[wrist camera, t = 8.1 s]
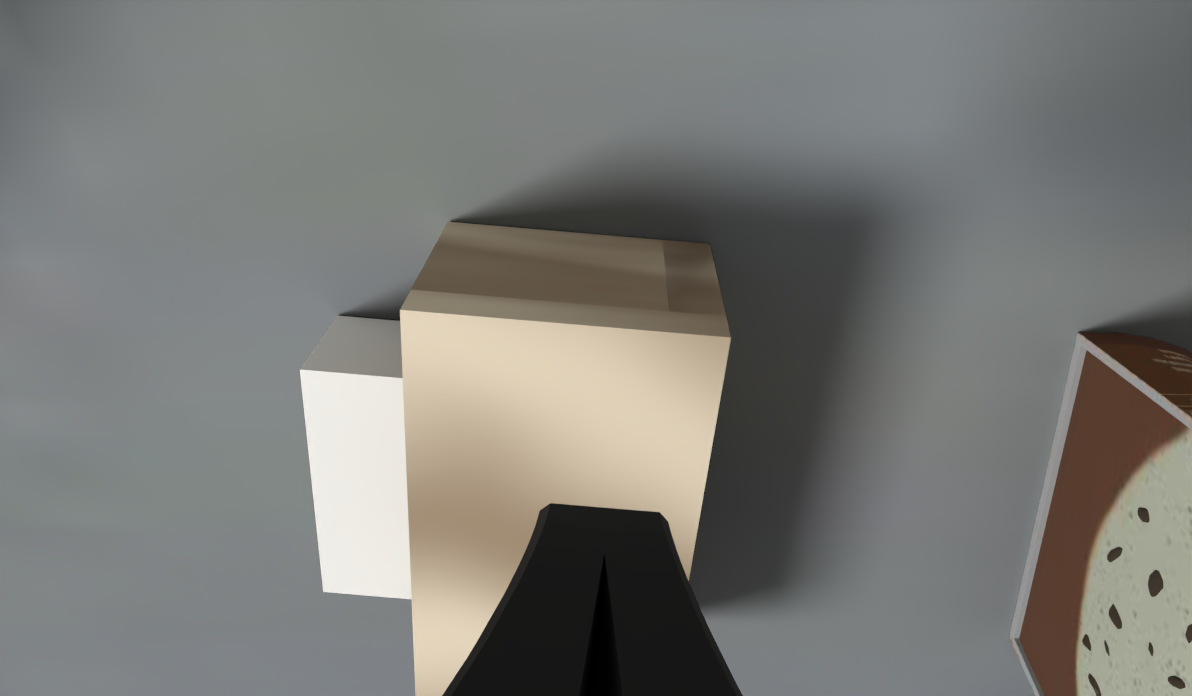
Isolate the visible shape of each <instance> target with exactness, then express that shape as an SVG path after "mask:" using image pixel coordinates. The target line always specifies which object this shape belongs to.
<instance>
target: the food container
mask: <svg viewBox="0 0 1192 696" xmlns="http://www.w3.org/2000/svg"><path fill="white" fill-rule="evenodd" d="M1009 638H1010V640H1011V642H1012V644H1013V647H1014V649H1015V651H1016V653H1017V656H1018V658H1019V660H1020V662H1021V664H1022V667H1023V669H1024V671H1025V673H1026V676H1027V678H1028V680H1029V682H1030V685H1031V687H1032V689H1033V691H1034V694H1035V696H1192V353H1191V352H1189V351H1187V350H1185V349H1183V348H1181V347H1178V346H1175V345H1172V344H1169V343H1166V342H1162V341H1159V340H1156V339H1153V338H1149V337H1143V336H1136V335H1130V334H1123V333H1112V332H1078V334H1077V338H1076V343H1075V347H1074V352H1073V356H1072V361H1071V365H1070V369H1069V374H1068V378H1067V383H1066V387H1065V392H1064V396H1063V401H1062V405H1061V409H1060V414H1059V418H1058V423H1057V427H1056V432H1055V436H1054V441H1053V445H1052V449H1051V454H1050V458H1049V463H1048V467H1047V472H1046V476H1045V481H1044V485H1043V489H1042V494H1041V498H1040V503H1039V507H1038V512H1037V516H1036V520H1035V525H1034V529H1033V534H1032V538H1031V543H1030V547H1029V552H1028V556H1027V560H1026V565H1025V569H1024V574H1023V578H1022V583H1021V587H1020V592H1019V596H1018V600H1017V605H1016V609H1015V614H1014V618H1013V623H1012V627H1011V632H1010V636H1009Z"/></svg>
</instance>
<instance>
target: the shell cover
mask: <svg viewBox="0 0 1192 696" xmlns="http://www.w3.org/2000/svg"><path fill="white" fill-rule="evenodd" d="M300 375H301V385H302V394H303V404H304V413H305V423H306V432H307V442H308V451H309V460H310V470H311V479H312V489H313V498H314V508H315V517H316V527H317V536H318V545H319V555H320V564H321V574H322V583H323V592H332V593H344V594H355V595H367V596H379V597H391V598H403V599H412V595H411V570H410V546H409V521H408V497H407V472H406V448H405V424H404V399H403V375H402V350H401V326H400V321H394V320H383V319H371V318H360V317H348V316H336V318H335V319H334V321H333V322H332V324H331V325H330V326H329V328H328V329H327V331H326V332H325V334H324V335H323V337H322V338H321V340H320V341H319V342H318V344H317V345H316V347H315V348H314V350H313V351H312V353H311V354H310V355H309V357H308V358H307V360H306V361H305V363H304V364H303V366H302V367H301V369H300Z"/></svg>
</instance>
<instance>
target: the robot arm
mask: <svg viewBox="0 0 1192 696" xmlns="http://www.w3.org/2000/svg"><path fill="white" fill-rule="evenodd" d="M442 696H743V695H742V694H741V692H740V690H739V688H738V686H737V684H736V682H735V680H734V678H733V676H732V674H731V672H730V670H729V668H728V666H727V664H726V662H725V660H724V658H723V656H722V654H721V652H720V650H719V648H718V646H717V644H716V642H715V640H714V638H713V636H712V634H711V632H710V630H709V627H708V625H707V623H706V621H705V619H704V616H703V614H702V612H701V610H700V607H699V605H698V603H697V600H696V598H695V596H694V593H693V591H692V588H691V586H690V584H689V581H688V579H687V576H686V574H685V571H684V569H683V566H682V563H681V561H680V558H679V555H678V552H677V550H676V546H675V543H674V540H673V537H672V534H671V531H670V527H669V523H668V521H667V520H666V519H665V517H664V516H663V515H662V514H661V513H660V512H652V511H639V510H627V509H615V508H603V507H591V506H579V505H567V504H555V503H550V504H549V505H547V506H546V507H544V508H543V509H541V510H540V512H539V515H538V519H537V522H536V525H535V528H534V531H533V533H532V536H531V539H530V541H529V544H528V546H527V548H526V551H525V553H524V555H523V557H522V559H521V561H520V564H519V566H518V568H517V570H516V572H515V574H514V576H513V578H512V580H511V582H510V584H509V586H508V588H507V590H506V591H505V593H504V595H503V597H502V599H501V600H500V602H499V604H498V606H497V607H496V609H495V611H494V613H493V614H492V616H491V618H490V620H489V621H488V623H487V625H486V627H485V628H484V630H483V632H482V634H481V635H480V637H479V639H478V641H477V642H476V644H475V646H474V647H473V649H472V651H471V652H470V654H469V656H468V657H467V659H466V660H465V662H464V663H463V665H462V666H461V668H460V669H459V671H458V672H457V674H456V675H455V677H454V678H453V680H452V682H451V683H450V685H449V686H448V688H447V689H446V691H445V692H444V694H443V695H442Z"/></svg>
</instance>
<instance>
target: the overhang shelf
mask: <svg viewBox="0 0 1192 696" xmlns="http://www.w3.org/2000/svg"><path fill="white" fill-rule="evenodd" d="M400 326H401V350H402V375H403V399H404V424H405V448H406V472H407V497H408V521H409V546H410V570H411V595H412V619H413V644H414V668H415V693H416V696H442V695H443V694H444V692H445V691H446V689H447V688H448V686H449V685H450V683H451V682H452V680H453V678H454V677H455V675H456V674H457V672H458V671H459V669H460V668H461V666H462V665H463V663H464V662H465V660H466V659H467V657H468V656H469V654H470V652H471V651H472V649H473V647H474V646H475V644H476V642H477V641H478V639H479V637H480V635H481V634H482V632H483V630H484V628H485V627H486V625H487V623H488V621H489V620H490V618H491V616H492V614H493V613H494V611H495V609H496V607H497V606H498V604H499V602H500V600H501V599H502V597H503V595H504V593H505V591H506V590H507V588H508V586H509V584H510V582H511V580H512V578H513V576H514V574H515V572H516V570H517V568H518V566H519V564H520V561H521V559H522V557H523V555H524V553H525V551H526V548H527V546H528V544H529V541H530V539H531V536H532V533H533V531H534V528H535V525H536V522H537V519H538V515H539V512H540V510H541V509H543V508H544V507H546V506H547V505H549V504H550V503H555V504H567V505H579V506H591V507H603V508H615V509H627V510H639V511H652V512H660V513H661V514H662V515H663V516H664V517H665V519H666V520H667V521H668V523H669V527H670V531H671V534H672V537H673V540H674V543H675V546H676V550H677V552H678V555H679V558H680V561H681V563H682V566H683V569H684V571H685V574H686V576H687V579H688V581H689V576H690V571H691V565H692V559H693V553H694V548H695V542H696V536H697V530H698V525H699V519H700V513H701V507H702V502H703V496H704V490H705V485H706V479H707V473H708V467H709V462H710V456H711V450H712V444H713V439H714V433H715V427H716V421H717V416H718V410H719V404H720V398H721V393H722V387H723V381H724V375H725V370H726V364H727V358H728V352H729V347H730V341H731V335H730V331H729V326H728V322H727V317H726V313H725V309H724V304H723V300H722V295H721V291H720V287H719V282H718V278H717V273H716V269H715V265H714V260H713V256H712V252H711V247H710V244H705V243H693V242H681V241H670V240H658V239H646V238H634V237H622V236H610V235H599V234H587V233H575V232H563V231H551V230H539V229H528V228H516V227H504V226H492V225H480V224H468V223H456V222H448V223H447V225H446V227H445V228H444V230H443V232H442V234H441V236H440V238H439V239H438V241H437V243H436V245H435V247H434V248H433V250H432V252H431V254H430V256H429V258H428V259H427V261H426V263H425V265H424V267H423V269H422V270H421V272H420V274H419V276H418V278H417V279H416V281H415V283H414V285H413V287H412V289H411V290H410V292H409V294H408V296H407V298H406V300H405V301H404V303H403V305H402V307H401V309H400Z"/></svg>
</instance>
